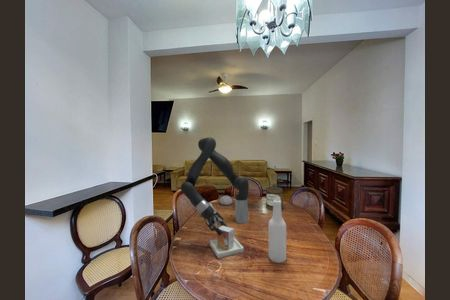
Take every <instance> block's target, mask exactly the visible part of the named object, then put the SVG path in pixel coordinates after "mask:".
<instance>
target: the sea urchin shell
mask: <svg viewBox="0 0 450 300" xmlns="http://www.w3.org/2000/svg"><path fill="white" fill-rule="evenodd" d="M218 202H219V204H220V205H221V206H229V205H230V206H231V204H233V199H232V198H231V196H230V195H223V196H221V197H220V198H219V200H218Z"/></svg>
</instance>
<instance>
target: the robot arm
mask: <svg viewBox="0 0 450 300" xmlns="http://www.w3.org/2000/svg"><path fill="white" fill-rule="evenodd" d="M197 143H198V144H197V145H198V148H199V150H200V152H201V153H200V154H199V156H198V157H197V159H195V161H194V162H192V165H191V166H190V168H189V170H188V172H187V175H186V179H185V181H183V182H182V183H181V185H180V191H181V192H182V194H183V195H184V196H185V197H186V198H187V199H188V200H189V201H190V203H191V205H192V206H193V207H194V208H195V209H196V211H197V212H198V213H199V214H200V216H201V217H202V218H203V219H204V221H205V225H207V227H208V228H209V229H210V231H211V232H215V233H216V234H218V235H219V236H220V235H221V234H222V232H221V231H220V229H219V227H218V224H220V227H221V226H226V227H228V226H227V224H226V223H225V222H224V217H223V216H222V215H221V214H220V213H219V212H218V211H215V210H216V209H215V208H214V207H213V208H214V209H215V210H214V209H213V208H212V207H211V206H210V205H209V203H210V202H208V201H207V200H206V199H205V198H204V197H203V196H202V195H201V194H200V192H198V190H197V188H195V186H196V184H197V180H198V179H199V177H200V175H201V173H202V171H203V168H204V166H205V164H206V163H207V161H208V160H209V159H210V161H211V162H212V163H213V164H214V166H215V167H217V168H218V170H219V171H220V172H221V173H222V174H223V175H224V176H225V177H226V179H228V181H229V183H230V184H231V185H232V186H233V188H234V189H235V190H238V193H237V194H235V196H234V198H235V199H234V201H235V205H234V206H235V208H234V209H235V214H234V215H235V219H234V220H235V221H234V222H235V223H237V224H247V223H248V222H249V221H250V220H249V218H250V217H249V215H250V213H249V208H248V196H249V187H250V185H249V181H248V179H246V178H245V177H244V178H243V177H240V176H238V175H237V174H236V173H235V169H234V166H233V164H232V163H231V162H230V161H229V159H228V158H227V157H226V156H224V155H222V154H221V153H219V151H217V150H215V149H216V147H217V142H216V139H214V138H213V137H204V138H203V137H202V138H200V139H199V140H198V142H197ZM214 211H215V213H214ZM206 220H207V221H206Z"/></svg>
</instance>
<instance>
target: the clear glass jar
mask: <svg viewBox="0 0 450 300" xmlns="http://www.w3.org/2000/svg"><path fill="white" fill-rule="evenodd" d="M265 192H266V198H265V199H266V200H265V207H266V208H265V209H267V210H269V211H272V212H273V201H274V200H280V201H281V211H283V210H284V191H283V188H282V187H278V186H277V184H275V183H274V184H272V186H268V187H266V188H265Z"/></svg>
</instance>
